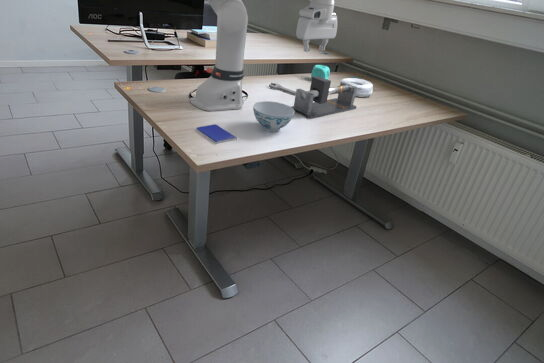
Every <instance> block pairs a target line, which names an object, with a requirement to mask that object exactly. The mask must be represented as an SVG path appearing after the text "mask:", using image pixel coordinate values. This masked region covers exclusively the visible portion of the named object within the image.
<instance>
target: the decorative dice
mask: <svg viewBox="0 0 544 363" xmlns="http://www.w3.org/2000/svg"><path fill="white" fill-rule="evenodd" d="M330 73H331V69H330V67H329V66H327V65H323V64H315V65H314V66H313V68H312V71H311V73H310V74H311V75H310V79H311V80H312V77H316V76H319V77H322V78H325V79H327V80H329V77H330Z"/></svg>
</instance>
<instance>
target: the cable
mask: <svg viewBox="0 0 544 363" xmlns="http://www.w3.org/2000/svg"><path fill="white" fill-rule="evenodd" d="M342 82H344V83H347V84H350V85H353V86H355V87H357V91H356V95H355V97H360V98H367V97H369V96H371V95H372V93H373V90H374V89H373V86H374V85H373V83H372V82H371V81H369V80H366V79H362V78H354V77H347V78H342V79H341V80H340V82H339V85H340V84H341V83H342Z"/></svg>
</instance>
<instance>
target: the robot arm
mask: <svg viewBox="0 0 544 363" xmlns="http://www.w3.org/2000/svg"><path fill="white" fill-rule="evenodd" d="M206 1H207V3H208V4H209V6H211V8H212V9H213V12H214V13H215V14H216V16H217V17H216V18H217V20H216V46H215V61H214V62H215V63H214V64H215V65H214V66H213V68H211V67H209V66H207V68H206V73H208V74H210V76H209V77H208V78H206V80H204V81H203V82H202V83H201V84H200V85H199V86H197V88H196V92H195V93H196V94H195V96H193V97H190V98H189V102H190V104H191V105H193V106H194V107H196V108H199V109H200V110H204V111H207V112H217V111H229V110H231V111H232V110H241V109H243V105H244V99H243V79H244V71H245V70H244V60H245V59H244V58H245V48H246V40H247V30H248V23H249V16H248V12H247V8H246V6H245V4H244V2H243V1H242V0H206ZM334 8H335V0H310V3H309V5H306V6H305V7H303V8H300V9H299V13H298V15H299V18H298V20H297V26H296V32H295V34H296V38H297V39H299V40H302V43H303V52H307V53H308V52H310V50H311V46H309V45H310V44H309V43H310V42H311V41H310V40H322V41H321V43H320V44H319V48H318V50H319V51H325V50H326V46H327V44H328V43H329V40H330V39H335V38H336V36H337V31H338V15H337V14H336V12H334Z"/></svg>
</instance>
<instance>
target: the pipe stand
mask: <svg viewBox="0 0 544 363" xmlns="http://www.w3.org/2000/svg"><path fill="white" fill-rule="evenodd" d="M340 83H341V82H340ZM340 83H339V85H336V86H332V87H331V86H330V88H329V93H328V96H330V95H335V94H336V95H337V98H335V97H334V98H330V99H327V103H324V104H319V103H316V102H314V101H313V98H314V97H319V94H320V90H311V91H310V90H304V89H302V88H296V89H295V90H296V91H295V92H296V96H295V95H294V96H295V97H294V103H293V105H292V106H290V107H291V108H293V109H294V113H297V114H298V115H301V116H302V117H304V118H307V119H309V120H312V119H317V118H321V117H326V116H330V115H334V114H339V113H343V112H349V111H353V110H356V109H357V105H354V102H355V98H356V96H355V95H356V91H357V87H355V86H353V85H350V84H347V83H344V82H342V83H341V84H340Z"/></svg>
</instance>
